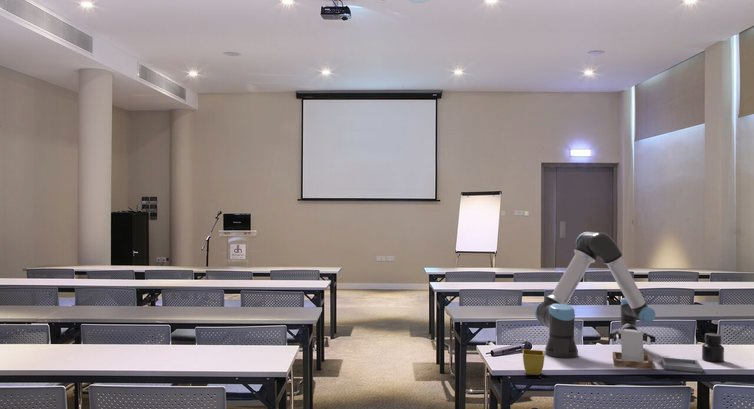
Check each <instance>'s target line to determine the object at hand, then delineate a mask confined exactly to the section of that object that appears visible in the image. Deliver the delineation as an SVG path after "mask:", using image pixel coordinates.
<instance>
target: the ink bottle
mask: <svg viewBox="0 0 754 409" xmlns="http://www.w3.org/2000/svg"><path fill="white" fill-rule="evenodd" d="M701 351H702V352H701V358H702V360H703V361H706V362H710V363H722V362H725V348H724V346H723V345H722V335H721V334H719V333H712V332H707V333H704V344H702V346H701Z"/></svg>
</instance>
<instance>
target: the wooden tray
mask: <svg viewBox="0 0 754 409" xmlns="http://www.w3.org/2000/svg"><path fill="white" fill-rule="evenodd" d="M643 354H644V353H643ZM612 361H613V366H614V367H623V366H626V367H625V368H638V369H648V370H654V362H653V359H652V357H651V355H650V354H644V362H637V361H625V360H622V351H621V352H620V351H619V352H618V351H612Z"/></svg>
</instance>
